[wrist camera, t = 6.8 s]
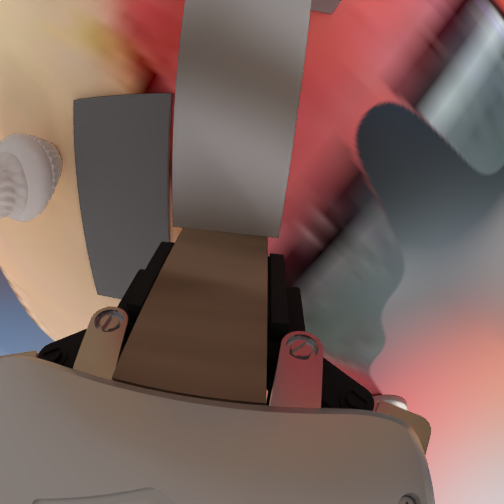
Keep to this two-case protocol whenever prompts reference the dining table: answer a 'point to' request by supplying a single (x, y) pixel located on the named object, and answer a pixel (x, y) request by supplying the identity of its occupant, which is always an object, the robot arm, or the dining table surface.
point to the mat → (122, 183)
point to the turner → (223, 201)
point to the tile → (324, 5)
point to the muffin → (27, 175)
